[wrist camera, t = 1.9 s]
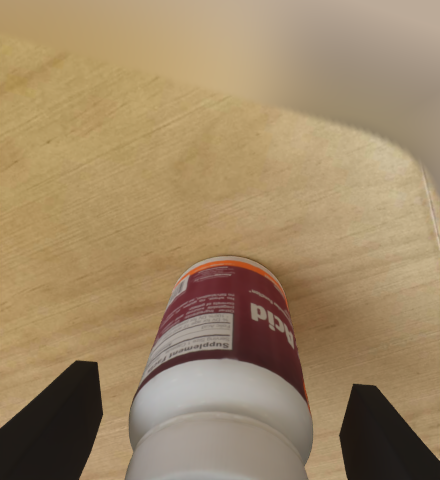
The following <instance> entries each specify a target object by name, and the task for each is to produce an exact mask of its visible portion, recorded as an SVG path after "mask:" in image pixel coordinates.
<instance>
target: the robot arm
mask: <svg viewBox="0 0 440 480" xmlns="http://www.w3.org/2000/svg"><path fill="white" fill-rule="evenodd" d="M102 416H103V409H102V400H101V391H100V381H99V372H98V363H97V362H89V361H77V360H76V361H75V362H74V363H73V364H71V365H70V366H69V367H68V368H67V369H66V370H65V371H64V372H63V373H62V374H61V375H59V376H58V377H57V378H56V379H55V380H54V381H53V382H52V383H51V384H50V385H49V386H48V387H46V388H45V389H44V390H43V391H42V392H41V393H40V394H39V395H38V396H37V397H36V398H34V399H33V400H32V401H31V402H30V403H29V404H28V405H27V406H25V407H24V408H23V409H22V410H21V411H20V412H19V413H17V414H16V415H15V416H14V417H13V418H12V419H11V420H10V421H8V422H7V423H6V424H5V425H4V426H3V427H1V428H0V480H79V478H80V476H81V473H82V471H83V469H84V467H85V464H86V462H87V460H88V457H89V455H90V453H91V450H92V447H93V444H94V441H95V438H96V435H97V432H98V429H99V426H100V422H101V419H102ZM339 436H340V442H341V448H342V454H343V459H344V465H345V470H346V475H347V479H348V480H440V461H439V460H438V459H437V458H436V456H435V455H434V454H433V453H432V452H431V451H430V450H429V448H428V447H427V446H426V445H425V444H424V443H423V442H422V440H421V439H420V438H419V437H418V436H417V435H416V433H415V432H414V431H413V430H412V429H411V427H410V426H409V425H408V424H407V423H406V422H405V420H404V419H403V418H402V417H401V416H400V414H399V413H398V412H397V411H396V410H395V408H394V407H393V406H392V405H391V403H390V402H389V401H388V400H387V399H386V398H385V396H384V395H383V394H382V393H381V392H380V390H379V389H378V388H377V387H376V386H373V385H362V384H353V387H352V390H351V394H350V398H349V401H348V405H347V409H346V412H345V416H344V420H343V423H342V427H341V431H340V434H339Z"/></svg>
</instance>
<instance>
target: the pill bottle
mask: <svg viewBox="0 0 440 480" xmlns="http://www.w3.org/2000/svg"><path fill="white" fill-rule="evenodd" d="M129 437H130V443H131V446H132V449H133V455H132V458H131V460H130V463H129V465H128V469H127V473H126V476H125V480H308V477H307V474H306V471H305V468H304V466H305V464H306V462H307V460H308V458H309V455H310V452H311V448H312V443H313V422H312V416H311V412H310V407H309V401H308V397H307V393H306V390H305V385H304V379H303V373H302V368H301V364H300V359H299V354H298V348H297V345H296V339H295V335H294V330H293V326H292V322H291V317H290V312H289V307H288V303H287V298H286V295H285V292H284V290H283V287H282V286H281V284H280V282H279V281H278V279H277V278H276V277H275V276H274V275H273V274H272V273H271V272H270V271H269V270H268V269H267V268H265V267H264V266H262V265H261V264H259V263H257V262H255V261H252V260H250V259H247V258H243V257H237V256H219V257H213V258H209V259H206V260H203V261H201V262H198V263H196V264H194V265H193V266H191V267H190V268H189V269H188V270H187V271H185V272H184V274H183V275H182V276H181V277H180V278H179V280H178V281H177V283H176V285H175V287H174V288H173V291H172V294H171V297H170V299H169V302H168V305H167V307H166V310H165V313H164V316H163V319H162V321H161V324H160V327H159V330H158V333H157V336H156V338H155V341H154V344H153V347H152V349H151V352H150V355H149V358H148V361H147V364H146V367H145V370H144V372H143V375H142V378H141V381H140V383H139V386H138V389H137V392H136V394H135V396H134V398H133V401H132V405H131V408H130V414H129Z"/></svg>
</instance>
